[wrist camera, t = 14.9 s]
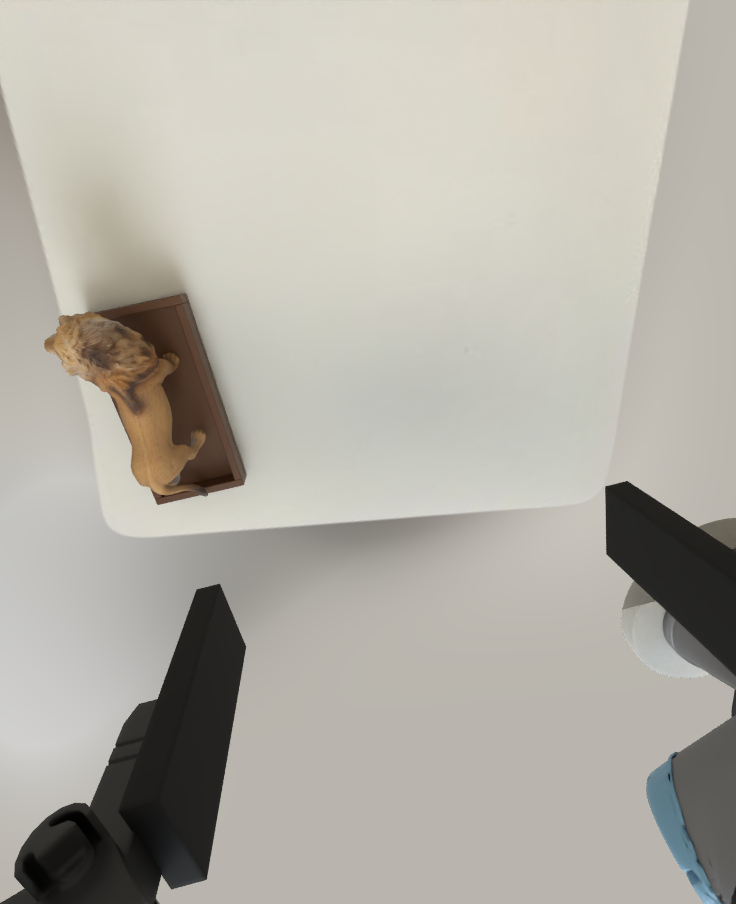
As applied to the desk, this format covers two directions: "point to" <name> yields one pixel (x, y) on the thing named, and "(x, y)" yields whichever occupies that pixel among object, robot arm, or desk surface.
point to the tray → (187, 393)
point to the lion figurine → (130, 393)
